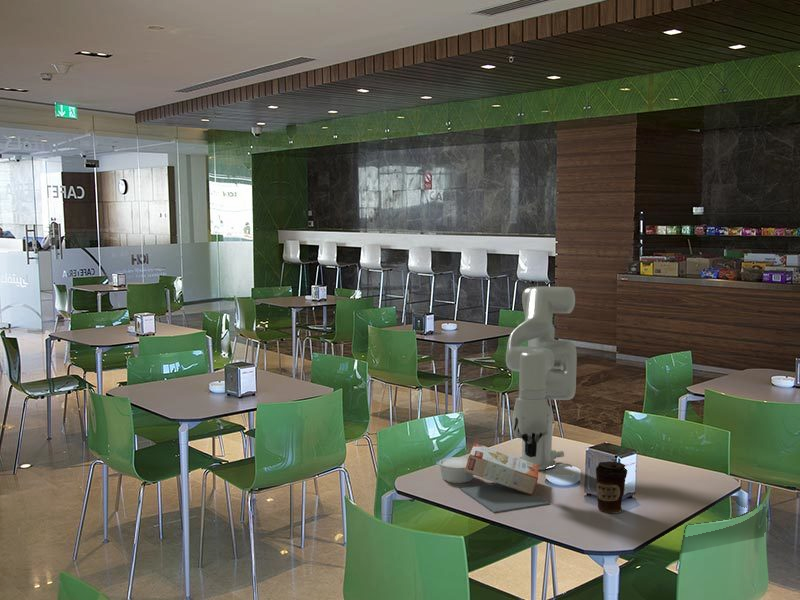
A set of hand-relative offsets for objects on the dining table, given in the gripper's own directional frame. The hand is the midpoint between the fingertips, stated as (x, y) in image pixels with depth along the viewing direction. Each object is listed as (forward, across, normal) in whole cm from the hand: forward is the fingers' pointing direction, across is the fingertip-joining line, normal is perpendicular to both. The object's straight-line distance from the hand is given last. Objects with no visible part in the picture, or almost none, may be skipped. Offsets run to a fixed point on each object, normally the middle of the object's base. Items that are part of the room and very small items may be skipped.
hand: (530, 455), depth 229 cm
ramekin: (+12, +14, -20) cm, 27 cm away
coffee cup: (+12, -13, +20) cm, 27 cm away
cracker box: (+8, -4, -2) cm, 9 cm away
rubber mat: (+11, +9, 0) cm, 14 cm away
